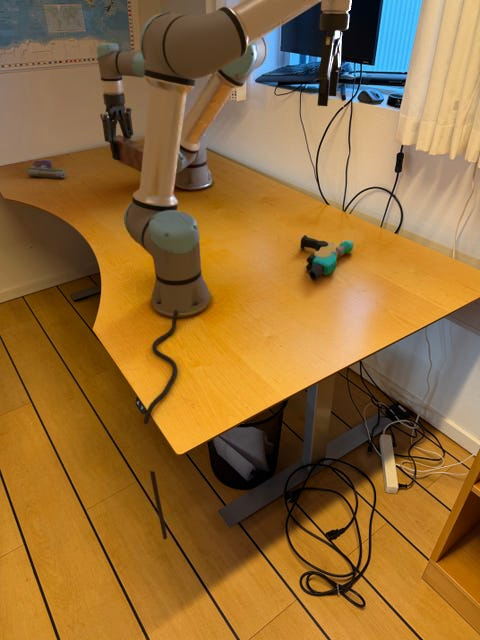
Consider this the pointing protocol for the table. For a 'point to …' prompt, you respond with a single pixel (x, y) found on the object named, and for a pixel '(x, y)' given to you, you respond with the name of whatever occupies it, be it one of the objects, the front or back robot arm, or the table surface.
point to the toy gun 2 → (323, 255)
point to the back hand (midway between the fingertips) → (122, 157)
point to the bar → (130, 152)
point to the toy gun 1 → (45, 170)
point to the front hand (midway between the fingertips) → (327, 100)
